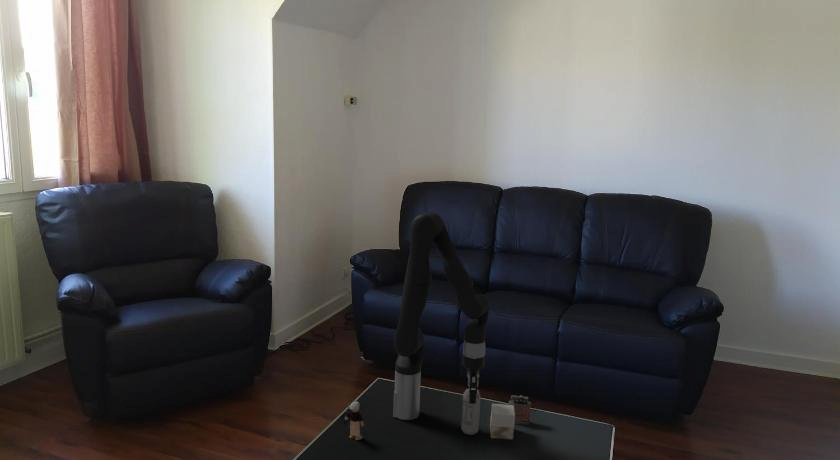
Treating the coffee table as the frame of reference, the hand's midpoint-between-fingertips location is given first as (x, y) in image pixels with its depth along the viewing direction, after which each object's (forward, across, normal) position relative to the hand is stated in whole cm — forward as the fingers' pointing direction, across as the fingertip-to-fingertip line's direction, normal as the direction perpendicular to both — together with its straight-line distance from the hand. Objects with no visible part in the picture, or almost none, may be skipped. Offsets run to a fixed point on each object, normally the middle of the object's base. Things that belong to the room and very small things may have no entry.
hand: (472, 397), depth 208 cm
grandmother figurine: (+12, +9, -40) cm, 42 cm away
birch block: (+13, 0, +10) cm, 17 cm away
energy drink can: (+13, 0, 0) cm, 13 cm away
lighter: (+13, -9, +17) cm, 24 cm away
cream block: (+8, 0, +11) cm, 14 cm away
